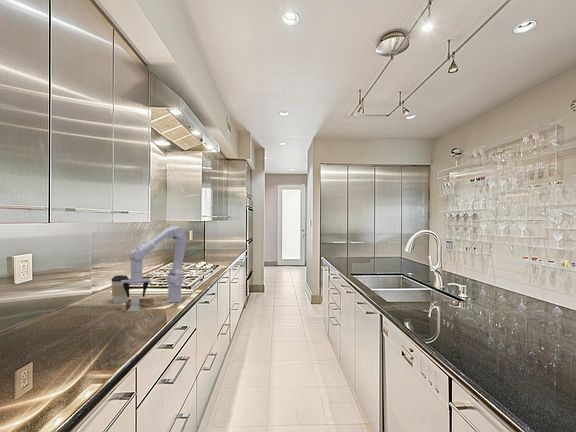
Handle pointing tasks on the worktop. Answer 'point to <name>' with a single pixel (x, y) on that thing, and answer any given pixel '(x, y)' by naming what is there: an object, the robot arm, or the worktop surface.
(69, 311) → the worktop surface
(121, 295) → the coffee cup
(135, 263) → the robot arm
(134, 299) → the block
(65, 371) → the worktop surface
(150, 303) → the wooden corner frame
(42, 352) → the worktop surface
